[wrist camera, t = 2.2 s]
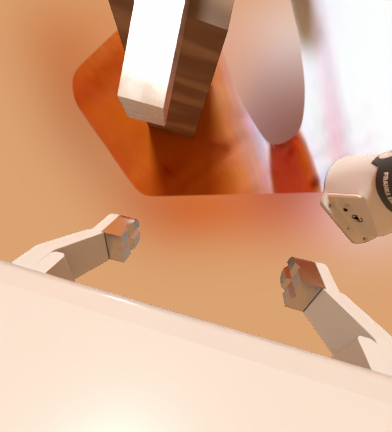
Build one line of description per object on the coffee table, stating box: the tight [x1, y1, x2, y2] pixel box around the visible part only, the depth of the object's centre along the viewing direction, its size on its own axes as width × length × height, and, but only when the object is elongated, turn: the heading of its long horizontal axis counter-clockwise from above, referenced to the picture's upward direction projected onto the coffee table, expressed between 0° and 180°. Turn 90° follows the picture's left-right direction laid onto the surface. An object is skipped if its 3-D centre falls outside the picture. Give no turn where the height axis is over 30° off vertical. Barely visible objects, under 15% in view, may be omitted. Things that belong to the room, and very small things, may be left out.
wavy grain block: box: [109, 0, 234, 138], centre depth 27 cm, size 16×10×26 cm, turn 168°
